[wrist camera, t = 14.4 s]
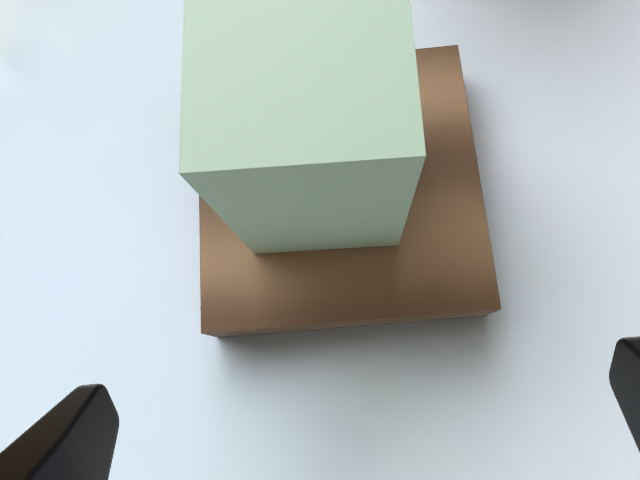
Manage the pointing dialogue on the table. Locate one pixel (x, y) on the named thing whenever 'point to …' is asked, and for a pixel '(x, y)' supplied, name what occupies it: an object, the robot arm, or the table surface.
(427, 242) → the walnut block
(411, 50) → the sage block
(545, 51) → the table surface
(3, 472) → the robot arm
